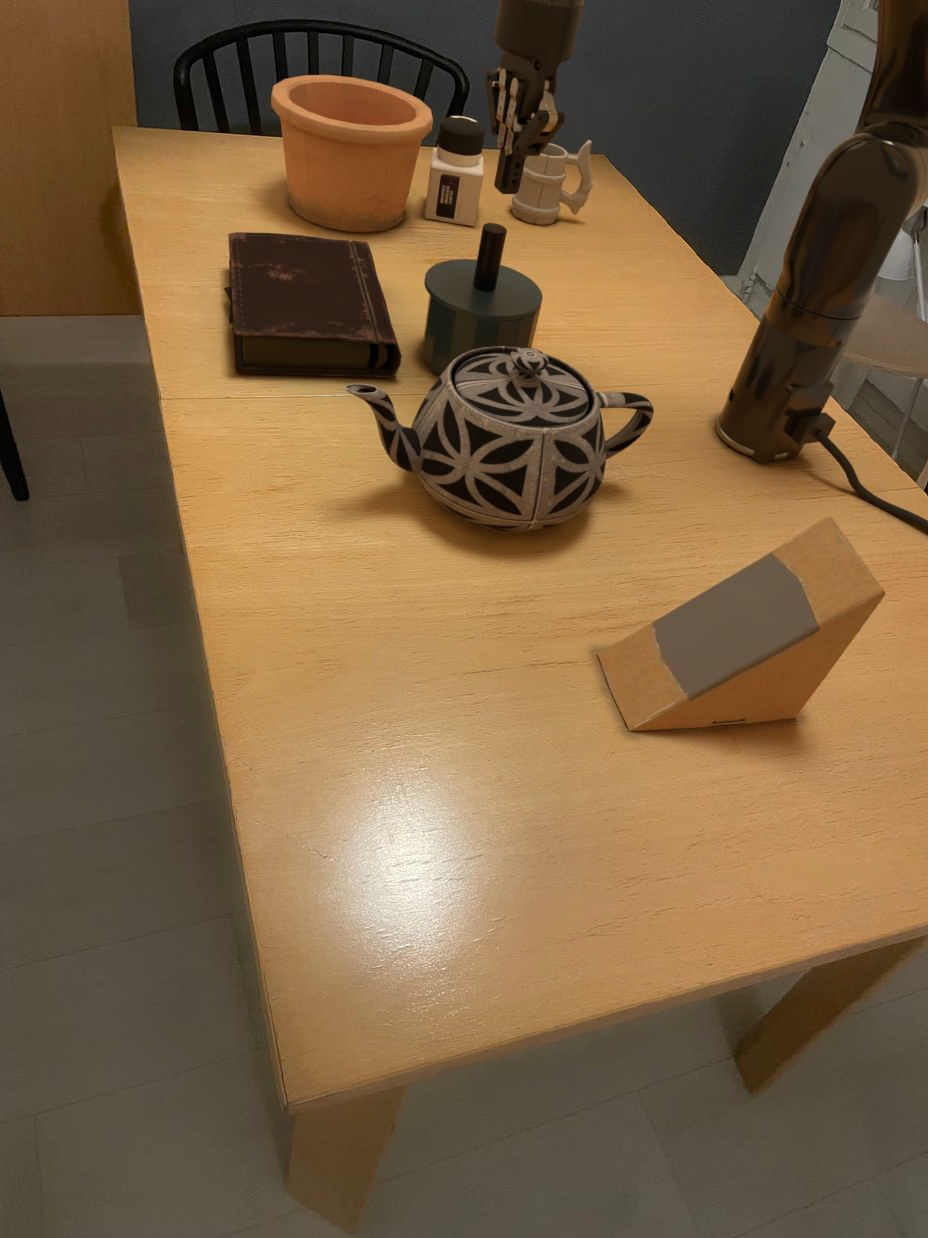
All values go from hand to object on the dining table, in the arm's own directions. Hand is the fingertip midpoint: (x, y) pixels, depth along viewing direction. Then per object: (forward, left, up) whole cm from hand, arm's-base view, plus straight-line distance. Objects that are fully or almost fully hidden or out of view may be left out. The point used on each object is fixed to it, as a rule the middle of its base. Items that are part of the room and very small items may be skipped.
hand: (505, 190), depth 90 cm
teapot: (-23, +9, -20) cm, 32 cm away
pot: (0, 0, -20) cm, 20 cm away
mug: (+39, -31, -20) cm, 54 cm away
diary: (+12, +17, -20) cm, 29 cm away
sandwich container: (-51, +3, -20) cm, 55 cm away
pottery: (+43, +1, -20) cm, 47 cm away
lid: (0, 0, -11) cm, 11 cm away
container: (+41, -15, -20) cm, 48 cm away
